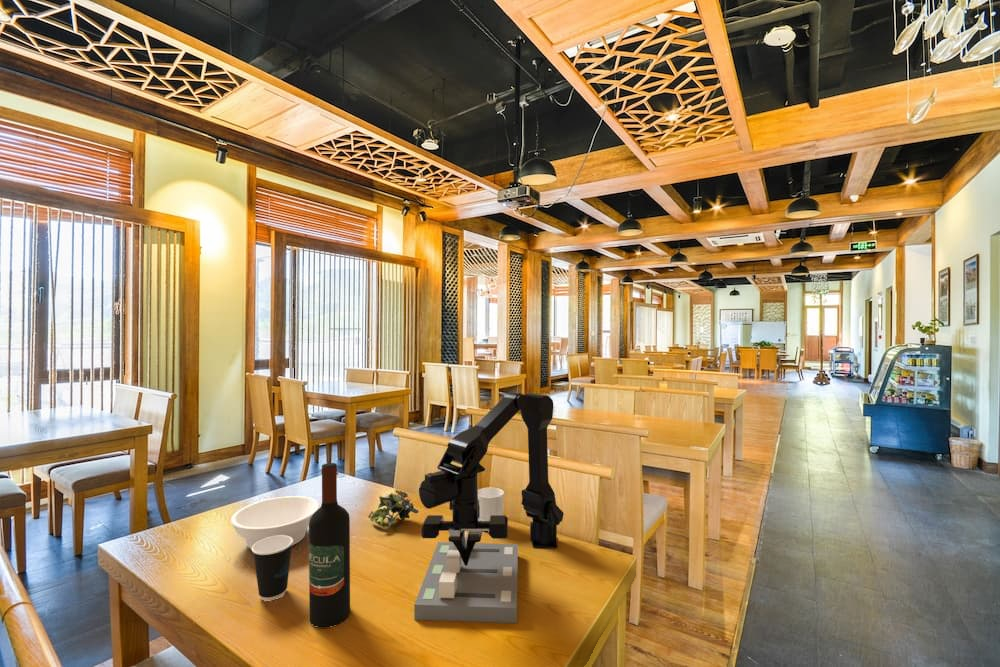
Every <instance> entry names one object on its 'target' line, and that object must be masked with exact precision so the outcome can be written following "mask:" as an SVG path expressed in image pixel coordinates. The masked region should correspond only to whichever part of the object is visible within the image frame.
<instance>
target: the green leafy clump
mask: <svg viewBox="0 0 1000 667" xmlns="http://www.w3.org/2000/svg"><path fill="white" fill-rule="evenodd" d="M395 493H396V494H395ZM395 493H392V492H391V493H389V494H386V495H385V496H381V495H379V496H378V497H379V502H380V503H379V504H378V507H377V509H376V510H375V511H372V510H371V511H370V513H369V515H368V518H369V519H370V521H371V522H375V523H376V521H377V522H378V520H379V519H380V526H381V527H384V521H385V519H387V523H388V526H387V529H386V530H389V529H390V527H391V525H392V524H393V522H395V521H396V518H397V517H399V519H400V520H405V519H410V513H411V512H412V514H413V513H414V514H418V513H419V510H418V509H417V508H414V503H412V502H410V501H411V499H408V498H409V494H408V493H406V492H405V491H402V490H395ZM405 498H406V499H405ZM382 507H383V508H382ZM390 512H391V513H390ZM396 513H397V514H396ZM394 514H395V516H394Z"/></svg>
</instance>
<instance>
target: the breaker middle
mask: <svg viewBox="0 0 1000 667" xmlns="http://www.w3.org/2000/svg"><path fill="white" fill-rule="evenodd" d="M460 568H461V556H460V553H459V551H458V550H448V553H447V556H446V572H455V573H459V572H460Z"/></svg>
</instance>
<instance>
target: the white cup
mask: <svg viewBox="0 0 1000 667" xmlns="http://www.w3.org/2000/svg"><path fill="white" fill-rule="evenodd" d="M504 497H505V492H504V490H503V489H501V488H499V487H498V488H497V487H492V486H491V487H490V486H488V487H482V488H478V500H479V506H480V517H479V518H478V521H490V516H491V515H504V499H505V498H504ZM487 533H489V531H488V532H487Z"/></svg>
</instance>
